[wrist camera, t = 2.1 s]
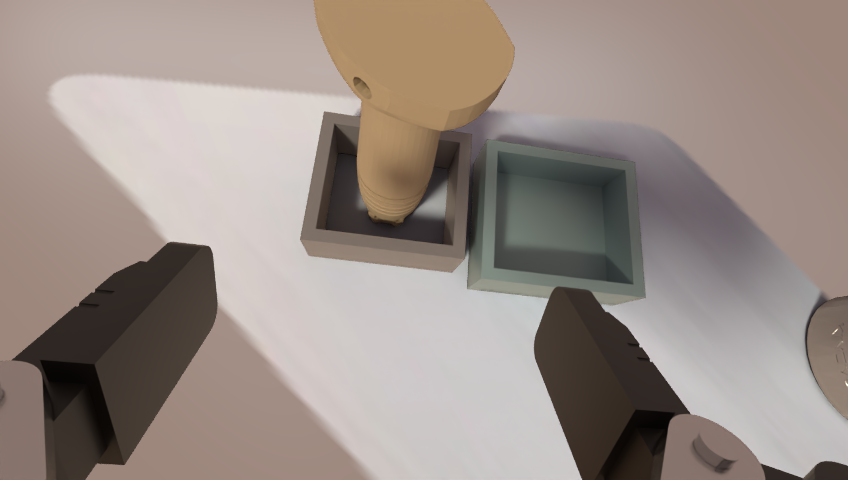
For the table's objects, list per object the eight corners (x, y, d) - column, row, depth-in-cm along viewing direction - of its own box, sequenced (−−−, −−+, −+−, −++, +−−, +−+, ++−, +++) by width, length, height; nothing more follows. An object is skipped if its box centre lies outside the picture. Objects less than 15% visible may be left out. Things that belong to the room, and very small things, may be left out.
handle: (377, 151, 28) (389, -74, 13) (448, 211, 27) (542, 43, 13) (326, 199, 26) (280, 2, 12) (401, 263, 25) (447, 139, 11)
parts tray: (606, 183, 29) (634, 161, 26) (612, 305, 27) (645, 297, 24) (473, 163, 28) (487, 139, 25) (466, 288, 26) (481, 278, 22)
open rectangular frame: (459, 161, 28) (471, 134, 25) (451, 272, 26) (464, 259, 22) (329, 141, 27) (324, 111, 24) (308, 255, 25) (300, 239, 22)
